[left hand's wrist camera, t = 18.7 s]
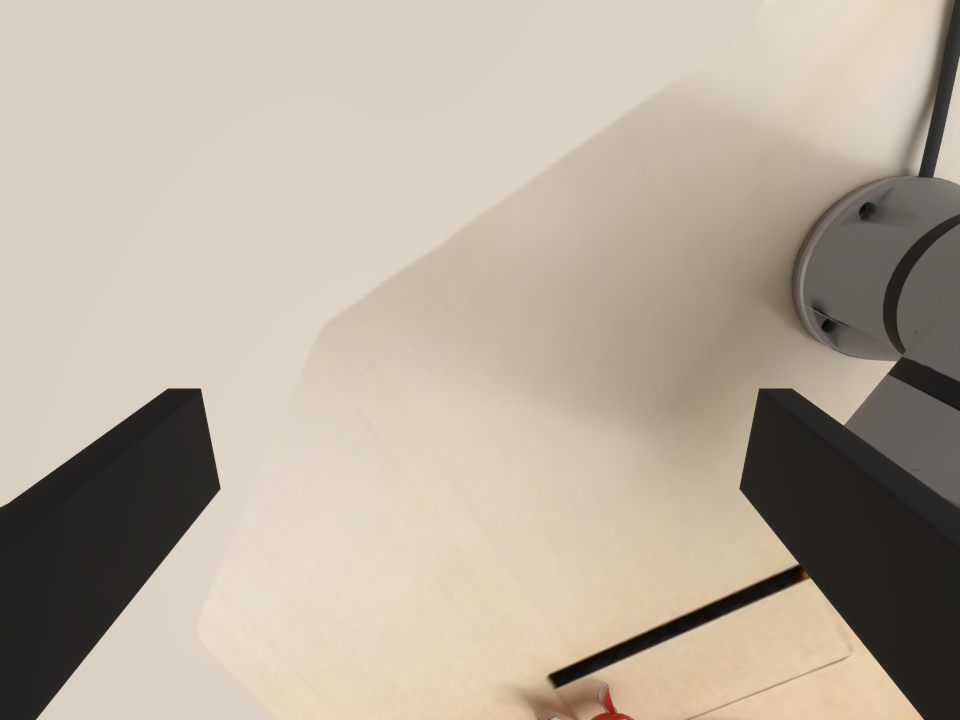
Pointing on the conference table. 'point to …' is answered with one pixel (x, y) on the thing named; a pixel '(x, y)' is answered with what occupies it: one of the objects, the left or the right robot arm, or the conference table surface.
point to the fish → (606, 707)
